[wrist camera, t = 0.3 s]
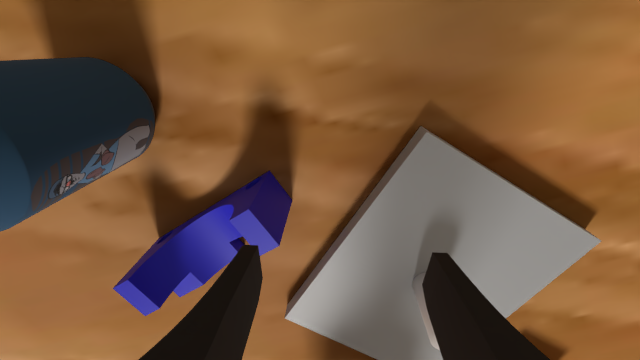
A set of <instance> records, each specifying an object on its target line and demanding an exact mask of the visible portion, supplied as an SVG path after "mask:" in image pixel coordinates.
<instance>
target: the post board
mask: <svg viewBox="0 0 640 360" xmlns="http://www.w3.org/2000/svg"><path fill="white" fill-rule="evenodd" d="M600 242H601V240H599V239H598V238H597V237H595V236H594V235H592V234H591V233H590V232H588V231H587V230H586V229H584V228H582V227H581V226H579V225H578V224H576V223H574V222H573V221H571V220H570V219H568V218H567V217H565V216H563V215H562V214H560V213H559V212H557V211H555V210H554V209H552V208H551V207H549V206H547V205H546V204H544V203H543V202H541V201H539V200H538V199H536V198H535V197H533V196H532V195H530V194H528V193H527V192H525V191H524V190H522V189H520V188H519V187H517V186H516V185H514V184H512V183H511V182H509V181H508V180H506V179H505V178H503V177H501V176H500V175H498V174H497V173H495V172H493V171H492V170H490V169H489V168H487V167H485V166H484V165H482V164H481V163H479V162H477V161H476V160H474V159H473V158H471V157H470V156H468V155H466V154H465V153H463V152H462V151H460V150H458V149H457V148H455V147H454V146H452V145H450V144H449V143H447V142H446V141H444V140H443V139H441V138H439V137H438V136H436V135H435V134H433V133H431V132H430V131H428V130H427V129H425V128H423V127H422V126H420V128H419V129H418V130H417V132H416V133H415V134H414V136H413V137H412V138H411V140H410V141H409V142H408V144H407V145H406V146H405V148H404V149H403V150H402V152H401V153H400V154H399V156H398V157H397V159H396V160H395V161H394V163H393V164H392V165H391V167H390V168H389V169H388V171H387V172H386V173H385V175H384V176H383V177H382V179H381V180H380V181H379V183H378V184H377V185H376V187H375V188H374V189H373V191H372V192H371V193H370V195H369V196H368V197H367V199H366V200H365V201H364V203H363V204H362V205H361V207H360V208H359V209H358V211H357V212H356V213H355V215H354V216H353V217H352V219H351V220H350V221H349V223H348V224H347V226H346V227H345V228H344V230H343V231H342V232H341V234H340V235H339V236H338V238H337V239H336V240H335V242H334V243H333V244H332V246H331V247H330V248H329V250H328V251H327V252H326V254H325V255H324V256H323V258H322V259H321V260H320V262H319V263H318V264H317V266H316V267H315V268H314V270H313V271H312V272H311V274H310V275H309V276H308V278H307V279H306V280H305V282H304V283H303V284H302V286H301V287H300V288H299V290H298V291H297V293H296V294H295V295H294V297H293V298H292V299H291V301H290V302H289V303H288V305H287V309H286V314H285V319H288V320H290V321H292V322H294V323H297V324H299V325H301V326H303V327H305V328H308V329H310V330H312V331H314V332H317V333H319V334H321V335H323V336H326V337H328V338H330V339H332V340H335V341H337V342H339V343H341V344H344V345H346V346H348V347H350V348H352V349H355V350H357V351H359V352H361V353H364V354H366V355H368V356H370V357H373V358H375V359H377V360H443V358H442V355H441V352H440V349H439V346H438V343H437V340H436V336H435V333H434V330H433V327H432V324H431V321H430V318H429V315H428V311H427V307H426V303H425V298H424V292H423V287H422V283H423V280H424V277H425V274H426V271H427V268H428V265H429V261H430V258H431V255H432V252H437V253H448V254H449V255H450V256H451V258H452V259H453V260H454V261H455V262H456V264H457V265H458V266H459V267H460V268H461V270H462V271H463V272H464V273H465V274H466V276H467V277H468V278H469V279H470V280H471V281H472V283H473V284H474V285H475V286H476V287H477V288H478V289H479V291H480V292H481V293H482V294H483V295H484V296H485V297H486V298H487V299H488V301H489V302H490V303H491V304H492V305H493V306H494V307H495V308H496V309H497V310H498V311H499V312H500V313H501V314H502V315H503V316H504V317H505V319H506V318H507V317H508V316H509V315H511V314H512V313H513V312H514V311H516V310H517V309H518V308H519V307H521V306H522V305H523V304H524V303H525V302H527V301H528V300H529V299H530V298H532V297H533V296H534V295H535V294H537V293H538V292H539V291H540V290H542V289H543V288H544V287H545V286H547V285H548V284H549V283H550V282H551V281H553V280H554V279H555V278H556V277H558V276H559V275H560V274H561V273H563V272H564V271H565V270H566V269H568V268H569V267H570V266H571V265H572V264H574V263H575V262H576V261H577V260H579V259H580V258H581V257H582V256H584V255H585V254H586V253H587V252H589V251H590V250H591V249H592V248H593V247H595V246H596V245H597V244H598V243H600Z"/></svg>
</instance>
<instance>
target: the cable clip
mask: <svg viewBox="0 0 640 360" xmlns="http://www.w3.org/2000/svg"><path fill="white" fill-rule="evenodd" d="M291 203H292V199H291V198H290V197H289V196H288V194H287V193H286V192H285V190H284V189H283V188H282V186H281V185H280V184H279V182H278V181H277V180H276V179H275V177H274V176H273V175H272V173H271V172H270V171H268V172H266V173H265V174H263V175H261V176H260V177H258V178H256V179H255V180H253V181H252V182H250V183H248V184H247V185H245V186H243V187H242V188H240V189H239V190H237V191H235V192H234V193H232V194H230V195H229V196H227V197H226V198H224V199H222V200H221V201H219V202H217V203H216V204H214V205H213V206H211V207H209V208H208V209H206V210H204V211H203V212H201V213H200V214H198V215H196V216H195V217H193V218H191V219H190V220H188V221H187V222H185V223H183V224H182V225H180V226H178V227H177V228H175V229H173V230H172V231H170V232H169V233H167V234H165V235H164V236H162V237H160V238H159V239H158V240H157V241H156V242H155V243H154V244H153V245H152V247H151V248H150V249H149V250H148V251H147V252H146V253H145V254H144V255H143V256H142V257H141V258H140V260H139V261H138V262H137V263H136V264H135V265H134V266H133V267H132V268H131V269H130V270H129V272H128V273H127V274H126V275H125V276H124V277H123V278H122V279H121V280H120V281H119V282H118V283H117V285H116V286H115V287H114V288H113V289H114V290H115V291H116V292H118V293H119V294H120V295H121V296H122V297H123V298H125V299H126V300H127V301H128V302H129V303H131V304H132V305H133V306H134V307H135V308H136V309H138V310H139V311H140V312H141V313H142V314H143V315H145V316H146V315H148V314H150V313H152V312H154V311H155V310H157V309H159V308H160V307H161V306H162V304H163V303H164V302H165V300H166V299H167V298H168V296H169V295H170V294H171V293H172V291H174V292H175V293H176V294H177V295H178V296H179V297H181V296H183V295H185V294H187V293H189V292H191V291H192V290H194V289H196V288H198V287H200V286H202V285H204V284H205V283H206V282H207V281H208V280H209V279H210V278H211V277H212V276H213V275H214V274H215V273H217V272H218V271H219V270H220V269H222V268H223V267H224V266H225V265H227V264H228V263H230V262H231V261H232V259H233V258H234V257H235V255H236V254H237V252H238V251H239V249H240V248H241V247H242V246H243V245H244V244H243V243H242V241H241V240H240V239H239V238H240V237H244V238H245V239H246V240H247V242H248V243H249V244H250V245H258V248H259V255H260V256H261V255H262V254H264V253H266V252H268V251H270V250H272V249H274V248H276V247H278V246H279V245H280V241H281V238H282V234H283V231H284V227H285V224H286V220H287V217H288V213H289V210H290V206H291Z"/></svg>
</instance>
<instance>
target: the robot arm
mask: <svg viewBox="0 0 640 360" xmlns="http://www.w3.org/2000/svg"><path fill="white" fill-rule="evenodd" d="M262 278H263V277H262V270H261V263H260V255H259V248H258V245H243V246H242V247H241V248H240V249H239V251H238V252H237V254H236V255H235V257H234V258H233V259H232V261H231V262H230V264H229V265H228V266H227V268H226V269H225V270H224V272H223V273H222V274H221V275H220V277H219V278H218V279H217V281H216V282H215V283H214V284H213V286H212V287H211V288H210V289H209V290H208V292H207V293H206V294H205V295H204V296H203V297H202V298H201V300H200V301H199V302H198V303H197V304H196V305H195V306H194V308H193V309H192V310H191V311H190V312H189V313H188V314H187V315H186V316H185V317H184V318H183V319H182V320H181V321H180V322H179V323H178V324H177V325H176V326H175V327H174V328H173V329H172V330H171V331H170V332H169V333H168V334H167V335H166V336H165V337H164V338H162V339H161V340H160V341H159V342H158V343H157V344H156V345H155V346H154V347H153V348H152V349H150V350H149V351H148V352H147V353H146V354H145V355H143V356H142V357H141V358H140V359H139V360H242V356H243V353H244V349H245V346H246V343H247V339H248V336H249V332H250V329H251V326H252V322H253V319H254V315H255V312H256V308H257V305H258V301H259V296H260V290H261V284H262ZM422 287H423V292H424V298H425V303H426V307H427V311H428V315H429V318H430V321H431V324H432V327H433V330H434V333H435V336H436V340H437V343H438V346H439V349H440V352H441V355H442V358H443V360H550V359H549V358H548V357H546V356H545V355H544V354H543V353H542V352H541V351H539V350H538V349H537V348H536V347H535V346H534V345H533V344H532V343H531V342H530V341H528V340H527V339H526V338H525V337H524V336H523V335H522V334H521V333H520V332H519V331H518V330H517V329H516V328H514V327H513V326H512V325H511V324H510V323H509V322H508V321H507V320H506V319H505V317H504V316H503V315H502V314H501V313H500V312H499V311H498V310H497V309H496V308H495V307H494V306H493V305H492V304H491V303H490V302H489V301H488V299H487V298H486V297H485V296H484V295H483V294H482V293H481V292H480V291H479V289H478V288H477V287H476V286H475V285H474V284H473V283H472V281H471V280H470V279H469V278H468V277H467V276H466V274H465V273H464V272H463V271H462V270H461V268H460V267H459V266H458V265H457V264H456V262H455V261H454V260H453V259H452V258H451V256H450V255H449V254H448V253H437V252H432V255H431V258H430V261H429V265H428V268H427V271H426V274H425V277H424V280H423V283H422Z"/></svg>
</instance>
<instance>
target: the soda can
mask: <svg viewBox="0 0 640 360" xmlns="http://www.w3.org/2000/svg"><path fill="white" fill-rule="evenodd" d="M154 129H155V115H154V109H153V106H152V103H151V101H150V99H149V97H148V95H147V93H146V92H145V91H144V89H143V88H142V87H141V86H140V85H139V84H138V83H137V82H136V81H135V80H134V79H133V78H132V77H131V76H130V75H128V74H127V73H126V72H125V71H123V70H122V69H120V68H118V67H117V66H115V65H113V64H111V63H109V62H106V61H103V60H100V59H96V58H90V57H76V58H54V59H33V60H11V61H0V231H3V230H6V229H9V228H11V227H12V226H14V225H16V224H18V223H20V222H22V221H23V220H25V219H27V218H29V217H31V216H32V215H34V214H36V213H38V212H40V211H41V210H43V209H45V208H47V207H49V206H50V205H52V204H54V203H56V202H58V201H59V200H61V199H63V198H65V197H67V196H68V195H70V194H72V193H74V192H76V191H77V190H79V189H81V188H83V187H85V186H86V185H88V184H90V183H92V182H94V181H95V180H97V179H99V178H101V177H103V176H104V175H106V174H108V173H110V172H112V171H113V170H115V169H117V168H119V167H121V166H122V165H124V164H126V163H128V162H130V161H131V160H133V159H135V158H137V157H138V156H140V155H141V154H142V153H143V152H144V151H145V150H146V149H147V148H148V146H149V145H150V143H151V141H152V138H153V135H154Z"/></svg>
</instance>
